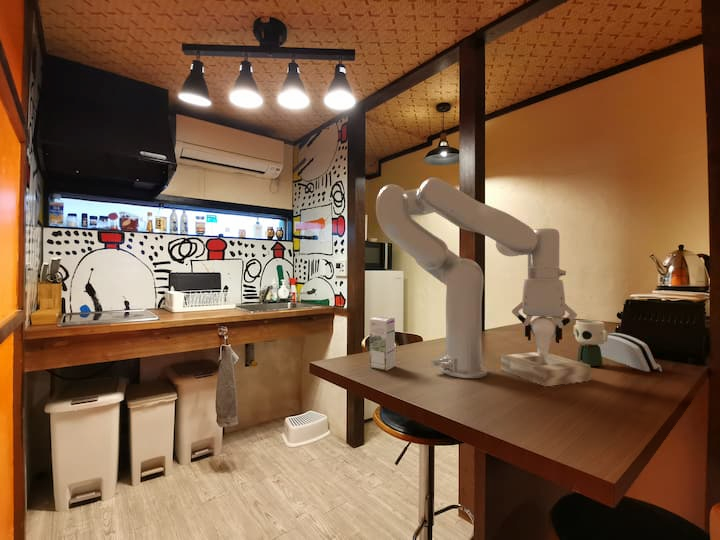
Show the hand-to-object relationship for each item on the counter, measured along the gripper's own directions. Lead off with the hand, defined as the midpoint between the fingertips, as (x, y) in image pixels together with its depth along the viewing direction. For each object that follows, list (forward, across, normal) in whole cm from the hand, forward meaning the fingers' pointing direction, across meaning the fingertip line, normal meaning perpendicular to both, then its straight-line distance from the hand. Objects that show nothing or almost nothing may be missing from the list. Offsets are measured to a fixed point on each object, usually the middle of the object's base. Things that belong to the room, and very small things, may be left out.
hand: (543, 340), depth 90 cm
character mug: (+10, -13, -17) cm, 23 cm away
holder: (+9, 0, 0) cm, 9 cm away
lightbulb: (+5, 0, 0) cm, 5 cm away
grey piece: (+10, -23, -24) cm, 35 cm away
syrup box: (+10, +42, +13) cm, 45 cm away
